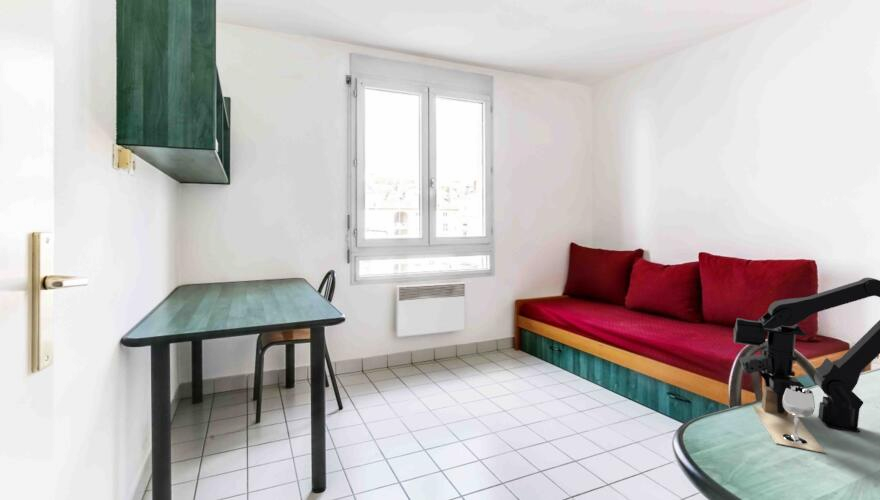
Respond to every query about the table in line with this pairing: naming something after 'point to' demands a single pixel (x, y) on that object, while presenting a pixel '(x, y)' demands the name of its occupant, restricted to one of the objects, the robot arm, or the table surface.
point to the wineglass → (797, 408)
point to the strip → (783, 423)
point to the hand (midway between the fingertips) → (775, 406)
